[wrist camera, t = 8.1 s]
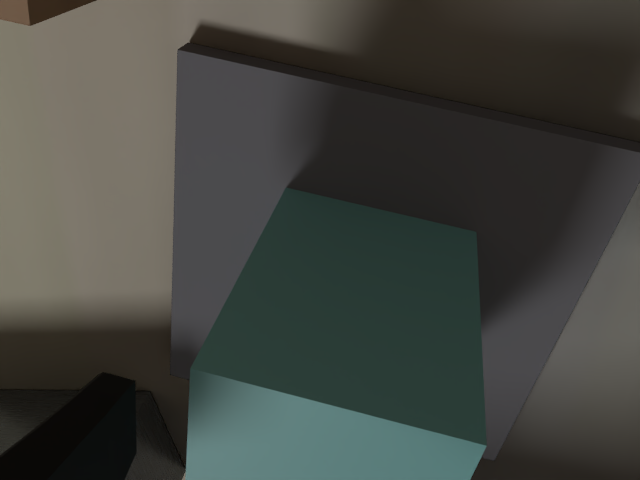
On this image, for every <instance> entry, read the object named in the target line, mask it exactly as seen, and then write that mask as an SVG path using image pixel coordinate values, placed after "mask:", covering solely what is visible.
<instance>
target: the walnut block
mask: <svg viewBox="0 0 640 480" xmlns="http://www.w3.org/2000/svg"><path fill="white" fill-rule="evenodd" d="M93 1H96V0H0V19H2V20H6V21H10V22H15V23H19V24H24V25H28V26H31V25H34V24H36V23H39V22H42V21H44V20H47V19H49V18H52V17H55V16H57V15H60V14H62V13H65V12H67V11H70V10H73V9H75V8H78V7H80V6H83V5H86V4H88V3H91V2H93Z"/></svg>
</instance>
